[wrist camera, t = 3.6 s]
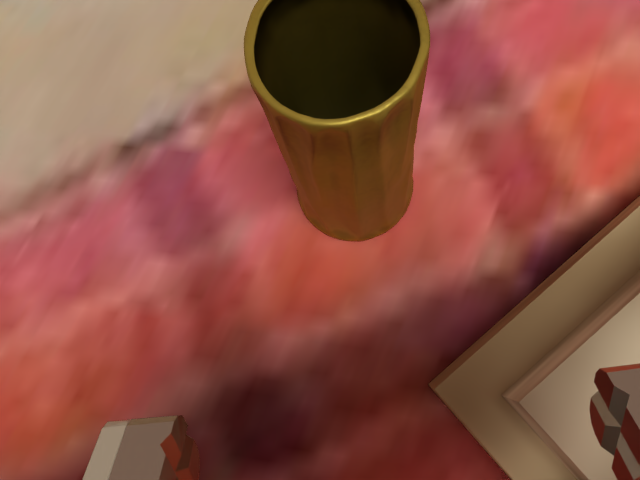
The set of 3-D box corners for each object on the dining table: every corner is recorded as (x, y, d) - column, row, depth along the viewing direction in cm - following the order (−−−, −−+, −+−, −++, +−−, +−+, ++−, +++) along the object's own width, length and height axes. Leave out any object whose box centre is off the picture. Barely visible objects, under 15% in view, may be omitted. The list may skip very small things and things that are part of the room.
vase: (436, 196, 29) (494, 54, 15) (341, 265, 28) (307, 188, 14) (367, 109, 30) (359, -97, 16) (275, 175, 30) (185, 24, 16)
